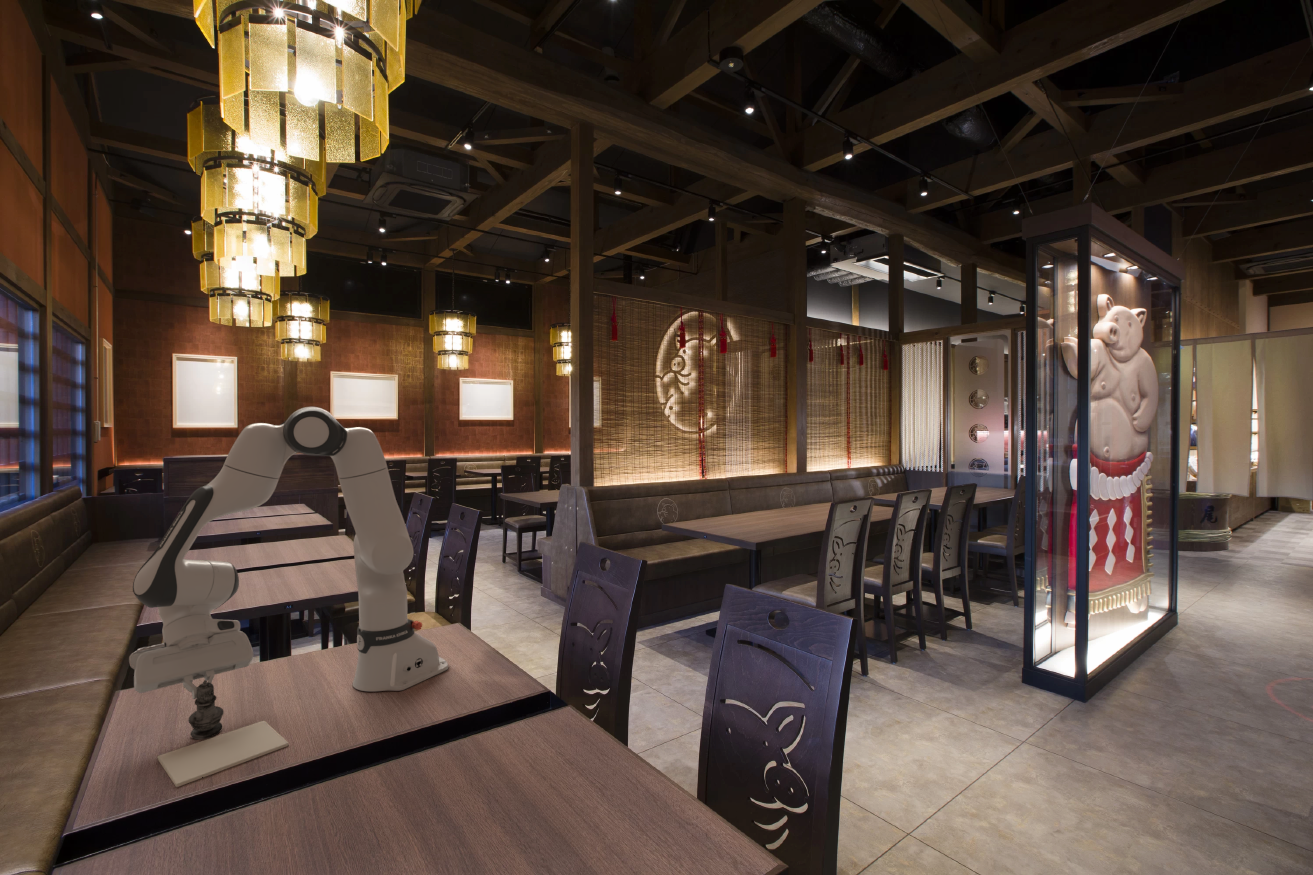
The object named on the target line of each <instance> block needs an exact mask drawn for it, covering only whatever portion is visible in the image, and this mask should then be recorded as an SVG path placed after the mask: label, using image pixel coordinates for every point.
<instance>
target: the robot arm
mask: <svg viewBox="0 0 1313 875" xmlns="http://www.w3.org/2000/svg"><path fill="white" fill-rule="evenodd" d="M298 453H300V454H303V455H306V456H323V457H325V456H326V457H330V458H331V460H332V461H333V464H334V466H335V469H336V474H337V477H338V482H339V485H340V488H341V492H342V496H343V500H344V504H345V508H346V511H347V513H348V515H349V519H350V521H351V524H352V526H353V529H354V531H355V535H354V537H353V555H354V567H355V576H356V585H357V593H358V619H359V620H358V623H359V624H358V626H357V627H356V628H357V629H356V632H357V633H356V634H357V635H356V636H357V637H356V645H357V653H358V656H357V664H356V669H355V674H354V678H353V680H352V687H353V688H354V689H356V690H358V691H362V692H382V691H383V692H384V691H385V692H386V691H395V692H398V691H400V692H401V691H404V690H406V689H409V688H411V687H413V686H414V685H417V684H420V683H421V682H424V681H425V680H427V679H430V678H432V677H435V676H436V675H439V674H441V673H443V672H445V671H447V670H448V669H449V664H448V661H447V660H446V659H445V658H443V657H441V656H439V652H438V648H437V646H436V644H435V643H434V642H433V641H431V640H429V639H428V638H426V637H424V636H422V635H421V634H419V633H418V632H415V630H416V631H420V630H421V629H422V628H423V623H422V622H421V621H419V620H413V619H411V618H408V588H407V586H406V581H405V574H404V570H406V569H407V568H408V566H410V564H411V562H412V560H413V559H414V558H413V557H414V554H415V553H414V546H413V543H412V540H411V538H410V534H409V531H408V529H407V525H406V523H405V522H406V521H405V519H404V517H403V515H402V512H401V509H400V506H399V505H398V502H397V500H396V498H397V497H396V495H395V492H394V487H393V484H392V481H391V476H390V472H389V469H388V465H387V460H386V457H385V455H384V452H383V449H382V446H381V444H380V442H379V439H378V438H377V436H376V434H375V433H374V432H373V431H372V430H371V429H369V428H366V427H362V426H358V427H357V426H355V427H347V428H346V427H344V426H343V425H342V424H341V423H340V422H339V421H338V420H337V419H336V418H335V416H334V415H333V414H332V413H331V412H330V411H327V410H326V409H323V408H321V407H317V406H306V407H302V408H299V409H297V410H296V411H294V412H293V413H291V414H290V415H289V416H288V418H287V419H286V420H285V421H283V422H282V423H281V424H279V425H277V424H275V425H274V424H270V423H266V422H265V423H264V422H255V423H251V424H249V425H246V426H245V427H244V428H243V429H242V430H241V432H240V433H239V435H238V436H237V438H236V440H235V441H234V443H233V445H232V447H230V450H229V452H228V454H227V455H226V459H225V461H224V463H223V466H222V468H221V470H220V471H219V472H218V474H217V475H216V476H215V477H214V478H213V479H212V480H211V481H209V483H207V484H205V485H204V486H200V487H198V488H197V489H195V490H194V491H193V492H192V493H191V495H190V497H189V498H188V499H187V500H186V502H185V503H184V504H183V505H182V508H181V509H180V510H179V512H178V514H177V515H176V516H175V518H174V520H173V522H172V523H171V525H169V526H170V527H169V528H168V529H167V531H166V533H165V534H164V536H163V537H162V539H161V540H160V542H159V544H158V545H157V547H156V548H155V550H154V551H153V552H152V554H151V555H150V557H148V559H146V561H145V562H144V563H143V565H142V566H141V567H140V568H139V570H138V571H137V573H136V575H135V577H134V579H133V582H132V592H133V594H134V596H135V597H136V599H137V600H138V601H139V602H140V603H142V604H143V605H144V606H146V607H147V608H149V609H153V608H155V609H156V608H157V611H158V616H159V618H160V620H161V622H162V624H163V625H162V630H161V632H162V638H163V643H159V644H153V645H151V646H143V647H140V648H137V650H135V651H134V652H132V653H131V654H130V655H129V657H128V662H129V666H130V668H131V669H133V670H134V673H133V675H134V676H133V688H134V691H135V692H137V693H139V694H144V693H148V692H151V691H155V690H159V689H163V688H167V687H171V686H175V685H179V684H182V686H183V688H184V689H185V690H187V691H188V692H190V693H191V697H192V699H193V700H196V699H197V691H196V690H197V687H198V686H197V685H195V684H194V683H193V681H196V680H199V679H202V678H203V679H204V680H205V681H207V682H209V683H212V684H213V680H214V678H215V675H219V674H222V673H226V672H231V671H235V670H238V669H243V668H246V667H249V665H250V664H251V662H252V661H253V660H254V650H253V648H252V644H251V642H250V640H249V637H248V635H247V634H246V633H245V632H243V631H241V622H240V621H239V620H236V619H234V620H233V619H217V618H213V617H212V616H211V613H212V611H214V610H217V609H218V608H220V607H221V606H223V605H225V604H226V603H227V602H228V601H229V600H230V599H232V597H233V596H234V595H235V594H237V592H238V590H239V585H240V578H239V574H238V570H237V568H236V567H235V566H234V565H233V564H232V563H231V562H228V561H222V560H210V559H209V560H208V559H205V560H204V559H203V560H200V559H185V557H186V555H187V554H188V552H189V551H190V549H191V548H192V546H193V544H194V542H195V541H196V539H197V537H198V536H199V534H200V533H201V531H202V529H203V528H204V527H205V526H206V525H208V524H209V523H210V522H212V521H213V520H215V519H217V518H220V517H224V516H226V515H227V516H228V515H231V514H232V515H233V514H235V513H236V514H237V513H242V512H245V511H250V510H253V509H255V508H259V507H260V506H261V505H263V504H265V503H266V502H268V500H270V498H271V497H272V495H273V494H274V492H275V490H276V488H277V485H278V482H279V480H280V477H281V475H282V472H283V470H284V467H285V464H286V463H287V462H288V460H289V459H290V458H291V457H292V456H294V455H295V454H298Z"/></svg>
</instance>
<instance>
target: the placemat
mask: <svg viewBox="0 0 1313 875" xmlns="http://www.w3.org/2000/svg"><path fill="white" fill-rule="evenodd" d="M288 746H290V744H289V742H288V741H287V740H286V738H284V737H283V736H282V735H281V734H279V733H278V731H276V729H274V728H273V727H272V726H271V725H270V724H268V722H266V721H265V720H262V721H261V720H260V721H258V722H255V723H253V724H249V725H247V726H243V727H240V728H236V729H235V730H231V731H228V732H225V733H223V734H219V735H215V736H213V737H210V738H207V739H203V740H202V741H198V742H195V743H193V744H190V745H187V746H186V745H185V746H184V747H180V748H177V749H175V750H171V751H168V752H166V753H165V752H164V753H163V754H160V755H157V760H158V762H159V764H160V765H161V767H162V768H163V769H164V771H165V773H166V775H168V777H169V778H170V780H171V782H172V783H173V784H174V787H176V788H178V787H182V786H184V785H186V784H188V783H192V782H195V781H198V780H200V779H203V778H205V777H208V776H211V775H213V774H216V773H219V772H222V771H225V770H226V769H227V770H228V769H229V768H232V767H235V766H237V765H240V764H243V763H245V762H248V761H252V760H254V759H257V758H258V757H262V756H265V755H267V754H270V753H272V752H275V751H278V750H281V749H283V748H285V747H288ZM202 777H203V778H202Z"/></svg>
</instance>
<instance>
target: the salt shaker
mask: <svg viewBox="0 0 1313 875" xmlns="http://www.w3.org/2000/svg"><path fill="white" fill-rule="evenodd" d="M196 687H197V690H196V691H197V699H194V705H195V706H196V710H195V711H194V712H193V713H191V714H190V716H189V717H188V720H187V721H188V723H189V725H190V727H192V730H191V732H190V736H191V738H193V739H195V740H207V739H210V738H213V737H216V736H217V735H218V734H219V733H220V732H222V729H223V724H222V722H221V720H222V717H223V716H224V714H225V713H224V712H225V711H224V709H223V708H222V707H220V706H218V705H217V706H216V705H215V704H216V702H215V701H216V700H217V696H216V695H215V688H214V683H213V682H212V683H209V682H208V681H205V679H204V680H203V681H202V683H200V684H199V685H198V686H196Z"/></svg>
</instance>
